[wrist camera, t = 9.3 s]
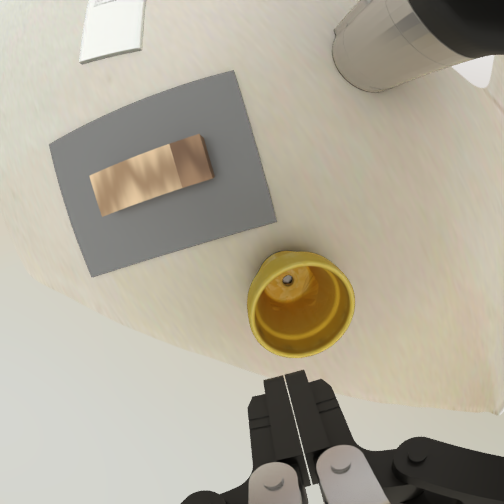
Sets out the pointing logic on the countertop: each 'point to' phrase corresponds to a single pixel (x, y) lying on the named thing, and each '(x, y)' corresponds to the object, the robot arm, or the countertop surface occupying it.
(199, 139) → the block
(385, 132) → the countertop surface
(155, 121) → the mat
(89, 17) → the external hard drive
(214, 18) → the countertop surface
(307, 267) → the plant pot
